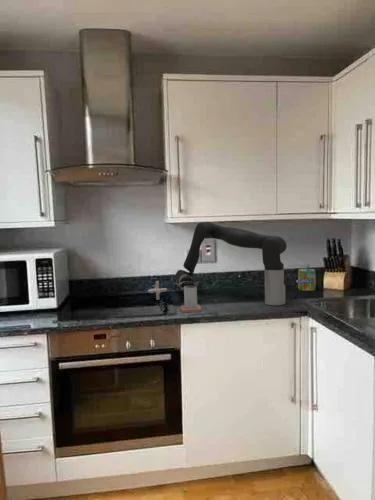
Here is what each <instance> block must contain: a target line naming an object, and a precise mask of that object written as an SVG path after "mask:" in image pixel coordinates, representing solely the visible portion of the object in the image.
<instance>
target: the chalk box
mask: <svg viewBox="0 0 375 500" xmlns="http://www.w3.org/2000/svg"><path fill="white" fill-rule="evenodd" d="M297 271H298V273H297V288H298V291H300V292H301V291H302V292H316V291H317V288H316V287H317V285H316V284H317V281H316V279H317V272H316V269H315V268H310V263H308V264H307V266H306V268H298V270H297Z"/></svg>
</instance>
